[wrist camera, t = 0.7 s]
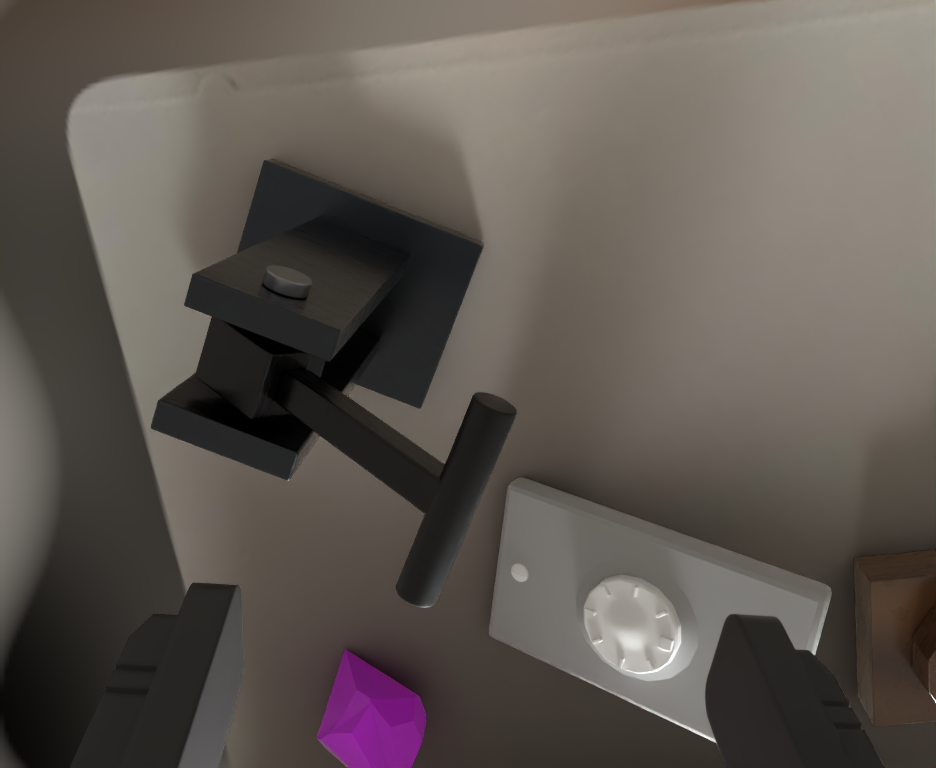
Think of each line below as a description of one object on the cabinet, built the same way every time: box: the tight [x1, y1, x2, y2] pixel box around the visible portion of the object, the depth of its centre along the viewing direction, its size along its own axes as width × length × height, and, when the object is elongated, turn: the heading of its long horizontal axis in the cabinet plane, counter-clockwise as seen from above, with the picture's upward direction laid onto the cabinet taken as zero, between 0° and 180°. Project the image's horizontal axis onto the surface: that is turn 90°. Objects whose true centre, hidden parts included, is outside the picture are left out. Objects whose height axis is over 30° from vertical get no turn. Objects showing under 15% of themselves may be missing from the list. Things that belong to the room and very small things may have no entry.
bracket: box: [151, 159, 485, 480], centre depth 31 cm, size 10×8×15 cm
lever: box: [195, 317, 517, 608], centre depth 24 cm, size 10×6×2 cm
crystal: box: [317, 649, 427, 768], centre depth 43 cm, size 5×5×5 cm
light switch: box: [489, 477, 832, 743], centre depth 39 cm, size 8×6×14 cm
